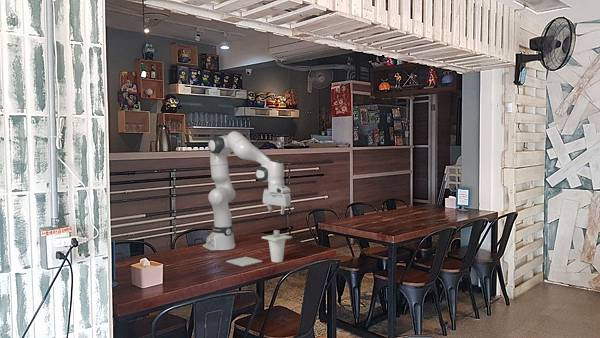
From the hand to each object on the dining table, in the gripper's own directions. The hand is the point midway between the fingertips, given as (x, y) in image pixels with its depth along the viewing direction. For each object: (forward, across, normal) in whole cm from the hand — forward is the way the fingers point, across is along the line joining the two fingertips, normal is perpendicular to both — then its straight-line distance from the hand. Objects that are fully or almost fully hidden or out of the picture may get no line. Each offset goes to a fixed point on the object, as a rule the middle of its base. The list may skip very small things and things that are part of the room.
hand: (276, 213), depth 276 cm
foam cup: (+27, 0, 0) cm, 27 cm away
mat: (+27, -12, -14) cm, 33 cm away
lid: (+14, 0, 0) cm, 14 cm away
